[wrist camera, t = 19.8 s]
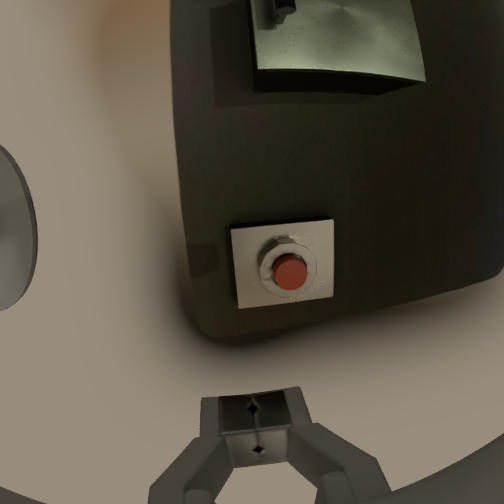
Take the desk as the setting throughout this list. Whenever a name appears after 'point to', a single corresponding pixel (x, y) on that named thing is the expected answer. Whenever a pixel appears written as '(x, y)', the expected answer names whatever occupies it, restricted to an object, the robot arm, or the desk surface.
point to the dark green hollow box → (320, 79)
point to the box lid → (338, 37)
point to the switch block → (276, 246)
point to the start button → (289, 272)
